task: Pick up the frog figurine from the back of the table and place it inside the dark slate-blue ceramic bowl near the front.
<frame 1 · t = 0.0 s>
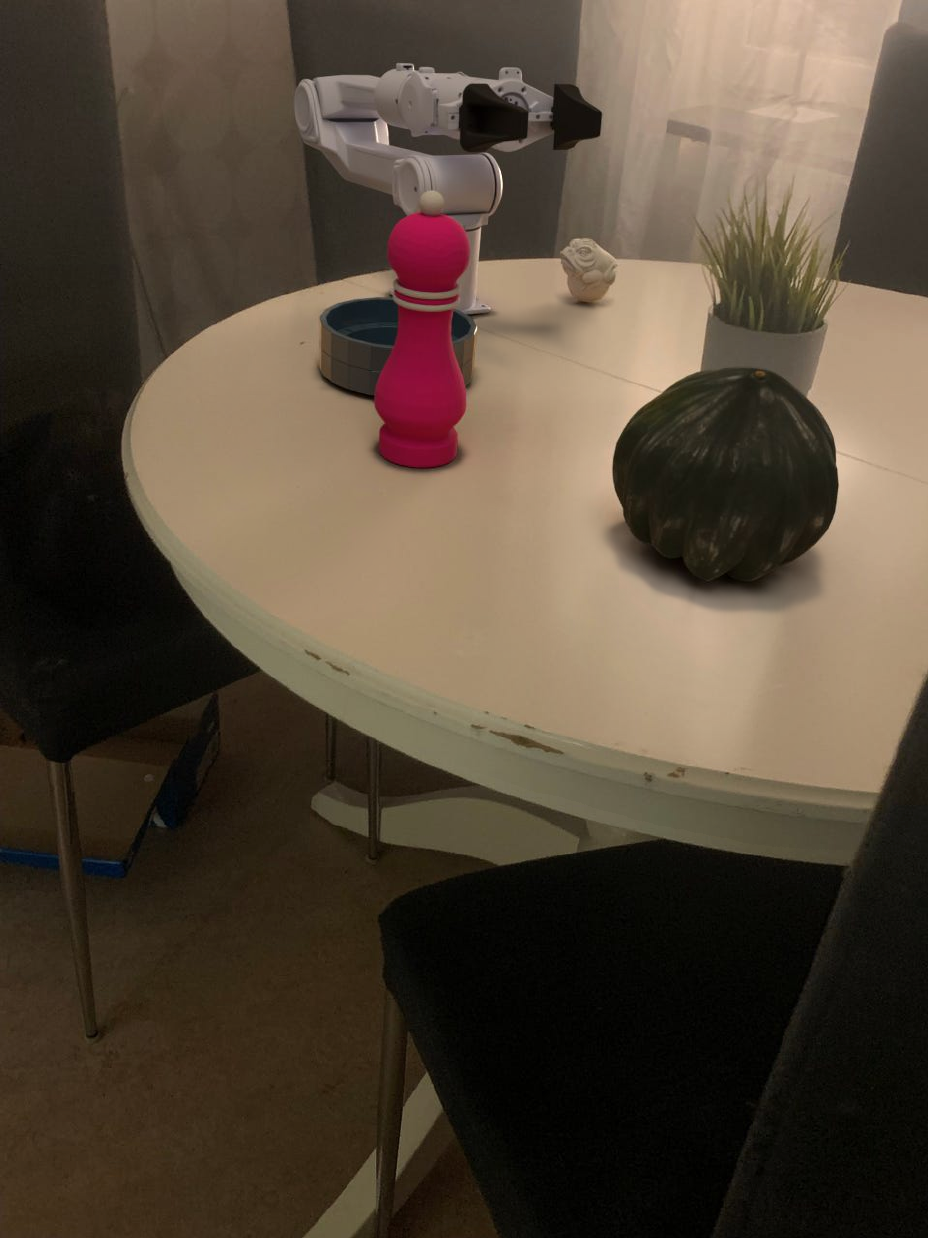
hand: (562, 124, 94), 22 cm above the table, tool horizontal, fingers open, 7 cm apart
squash: (709, 553, 77), on the table
bowl: (396, 373, 101), on the table
pepper mill: (417, 454, 87), on the table
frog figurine: (583, 302, 125), on the table
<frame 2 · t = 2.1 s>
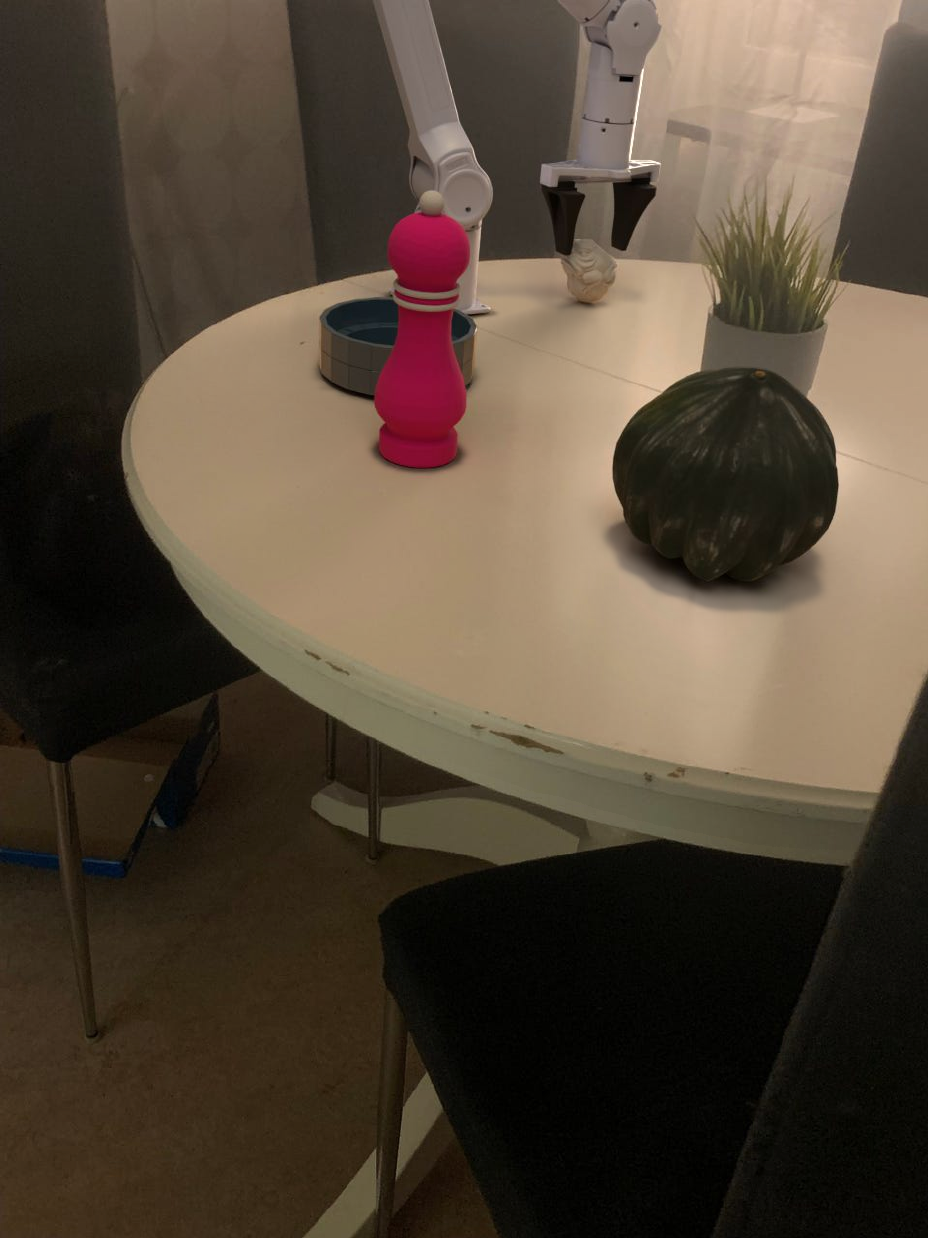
hand: (591, 250, 121), 6 cm above the table, tool pointing down, fingers open, 7 cm apart
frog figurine: (583, 303, 125), on the table, touching gripper
everything else where it was.
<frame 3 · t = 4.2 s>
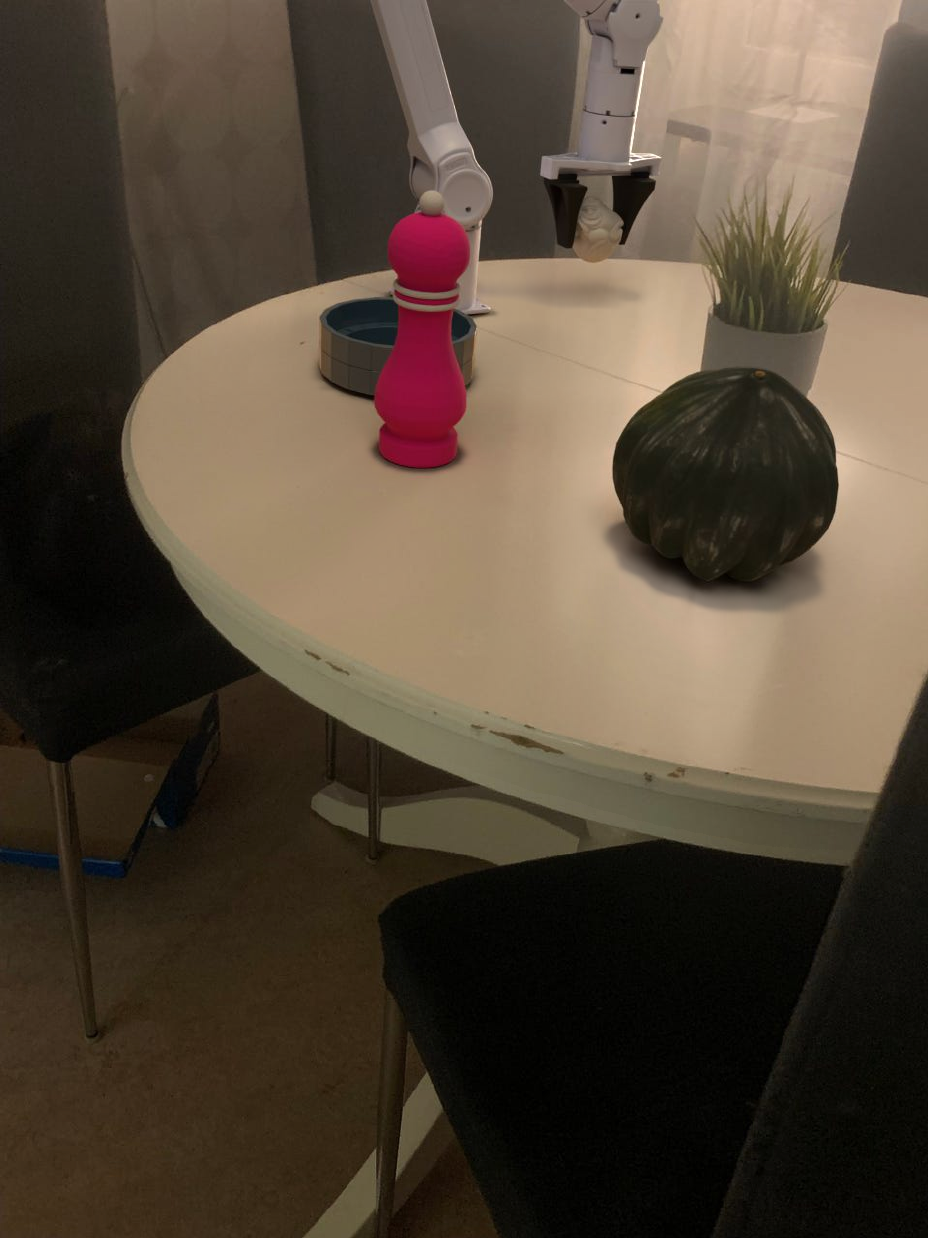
hand: (590, 244, 121), 6 cm above the table, tool pointing down, fingers closed on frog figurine, 7 cm apart
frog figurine: (588, 263, 122), point 4 cm above the table, touching gripper
everything else where it was.
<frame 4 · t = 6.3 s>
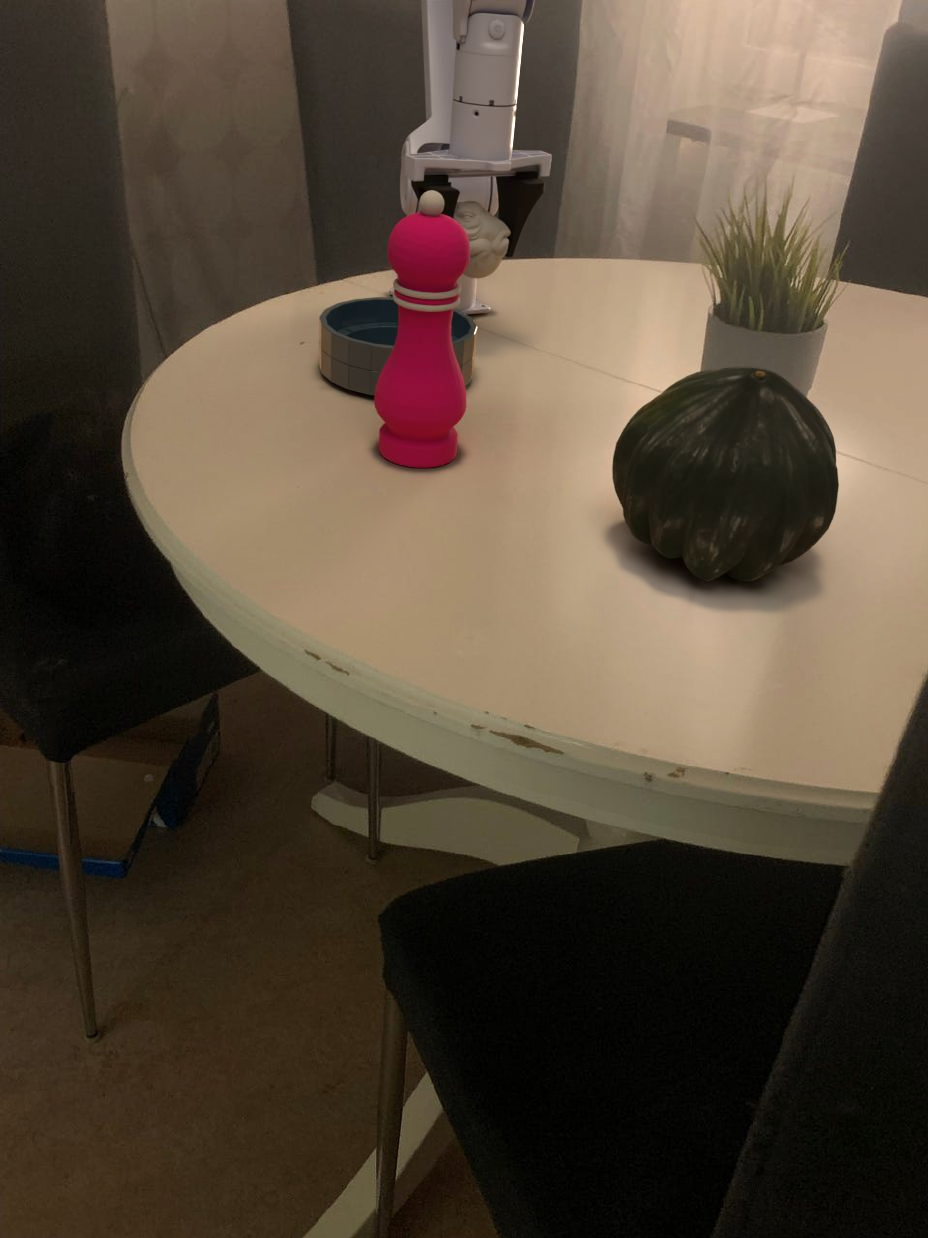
hand: (472, 256, 103), 9 cm above the table, tool pointing down, fingers closed on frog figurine, 7 cm apart
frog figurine: (472, 279, 104), point 7 cm above the table, touching gripper
everything else where it was.
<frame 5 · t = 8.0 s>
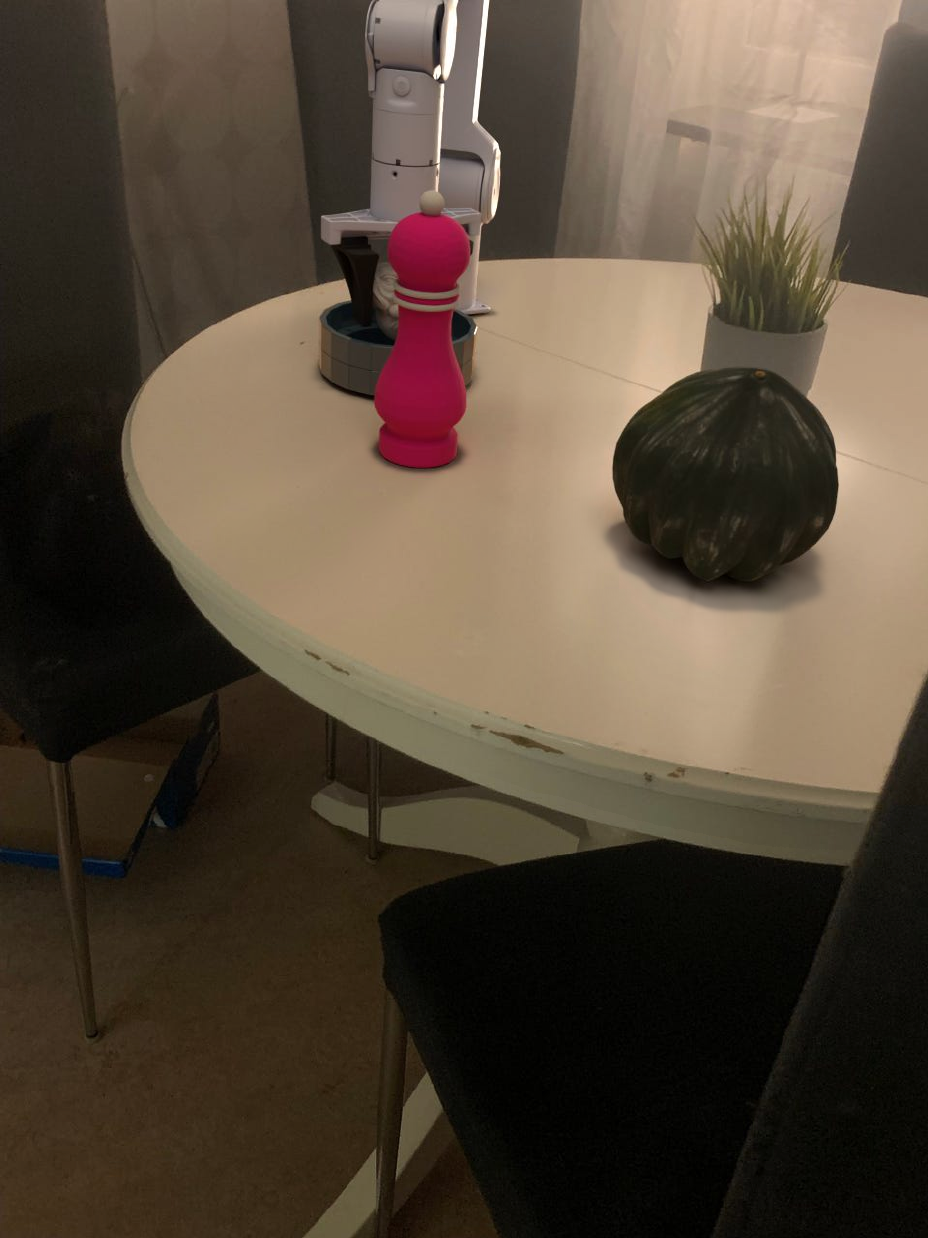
hand: (398, 319, 98), 5 cm above the table, tool pointing down, fingers closed on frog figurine, 7 cm apart
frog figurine: (399, 342, 99), point 3 cm above the table, touching gripper
everything else where it was.
when the fingers open (3 cm above the table, at t = 9.6 s): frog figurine stays where it is, resting on bowl.
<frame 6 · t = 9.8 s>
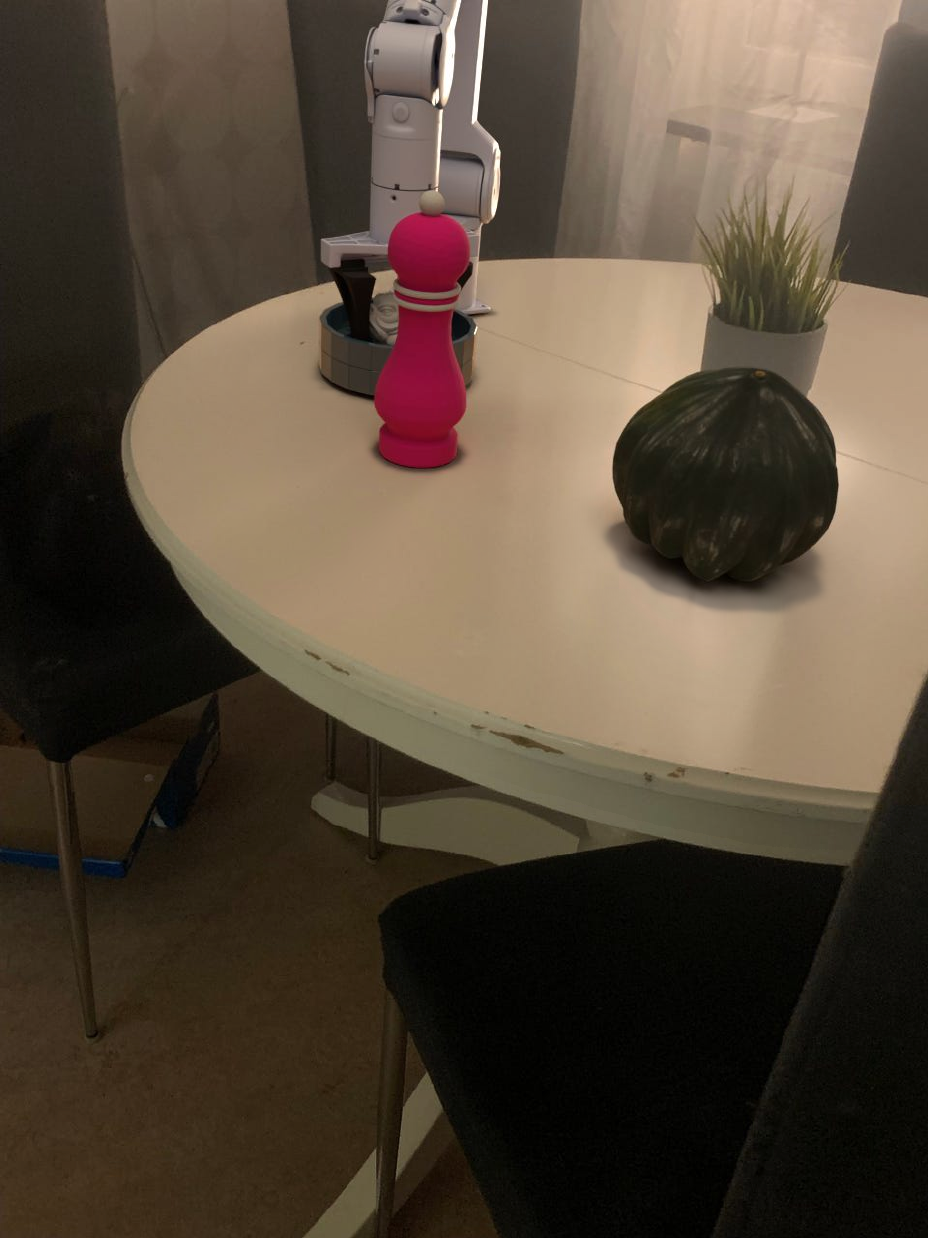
hand: (397, 339, 99), 3 cm above the table, tool pointing down, fingers open, 7 cm apart
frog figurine: (396, 371, 100), resting on bowl, touching gripper
everything else where it was.
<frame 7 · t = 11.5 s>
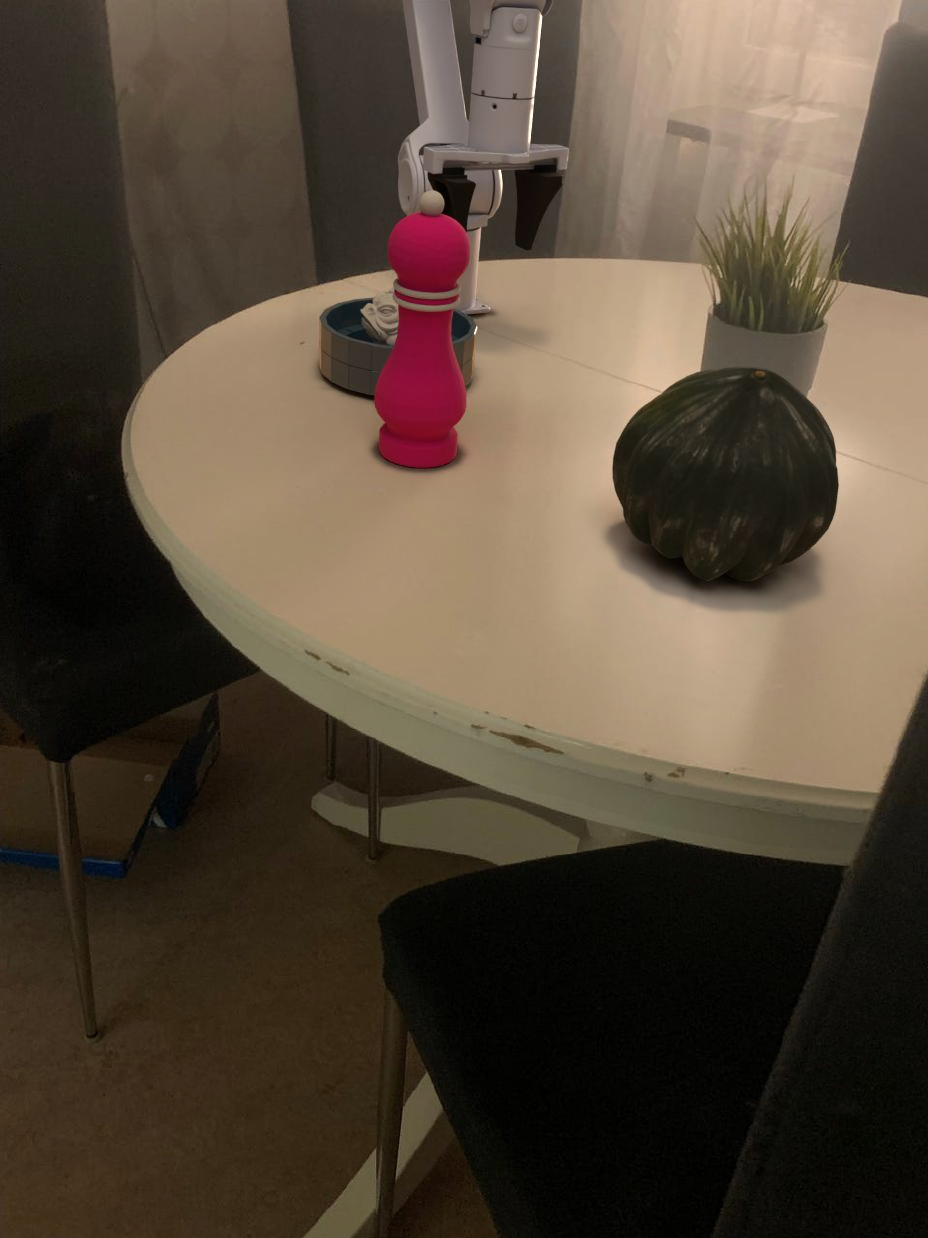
hand: (490, 249, 104), 9 cm above the table, tool pointing down, fingers open, 7 cm apart
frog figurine: (396, 371, 100), resting on bowl
everything else where it was.
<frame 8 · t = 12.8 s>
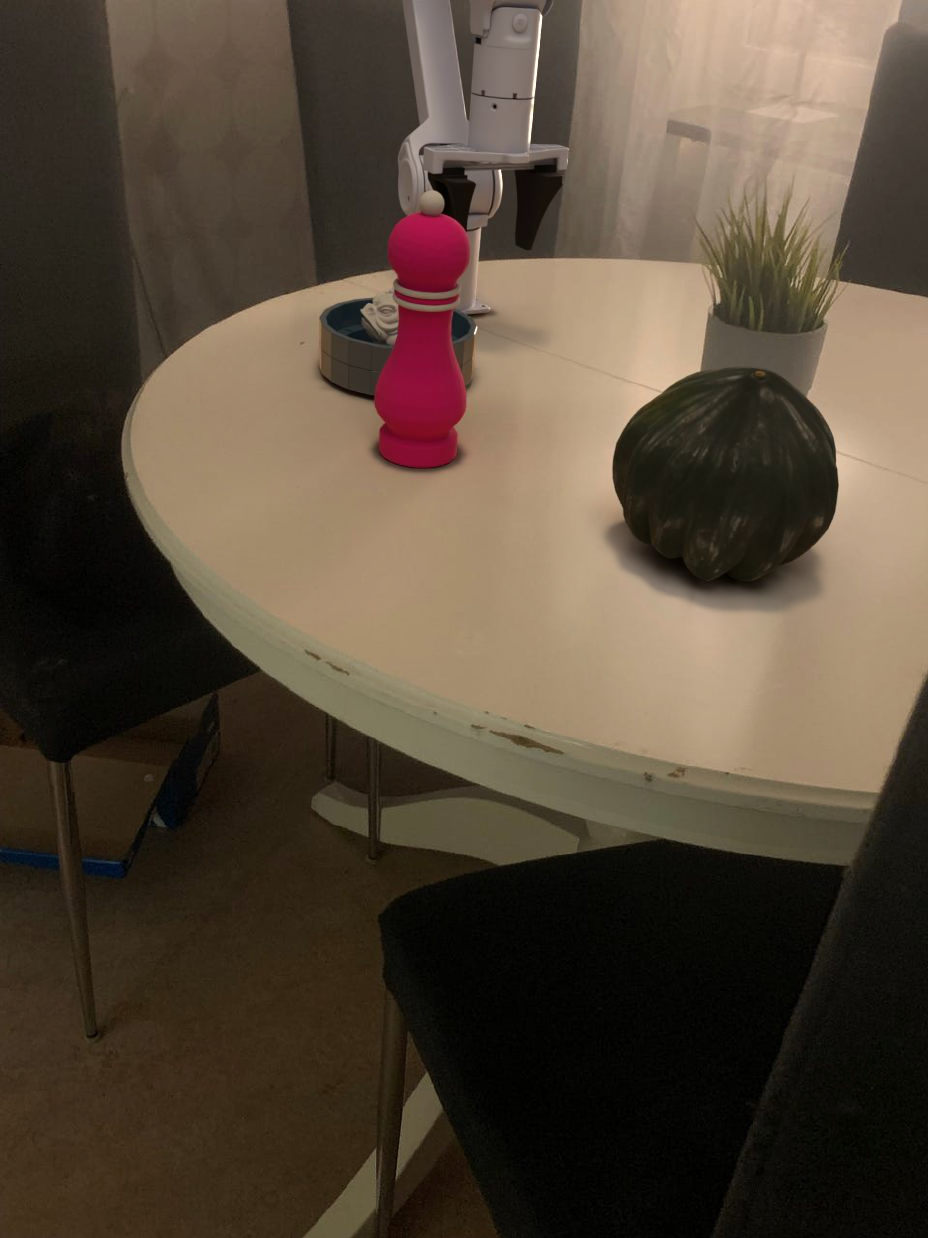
hand: (490, 249, 104), 9 cm above the table, tool pointing down, fingers open, 7 cm apart
nothing on the table moved.
at the end: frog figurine inside the target area in the bowl (0.1 cm from its centre), point 0.3 cm above the bowl's base; the gripper is holding nothing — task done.
